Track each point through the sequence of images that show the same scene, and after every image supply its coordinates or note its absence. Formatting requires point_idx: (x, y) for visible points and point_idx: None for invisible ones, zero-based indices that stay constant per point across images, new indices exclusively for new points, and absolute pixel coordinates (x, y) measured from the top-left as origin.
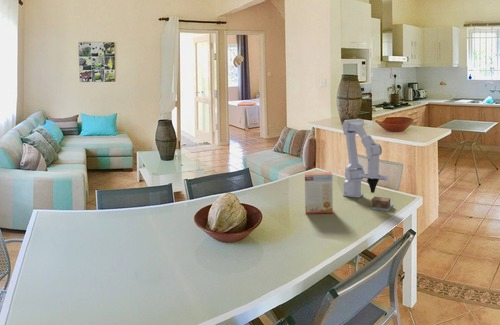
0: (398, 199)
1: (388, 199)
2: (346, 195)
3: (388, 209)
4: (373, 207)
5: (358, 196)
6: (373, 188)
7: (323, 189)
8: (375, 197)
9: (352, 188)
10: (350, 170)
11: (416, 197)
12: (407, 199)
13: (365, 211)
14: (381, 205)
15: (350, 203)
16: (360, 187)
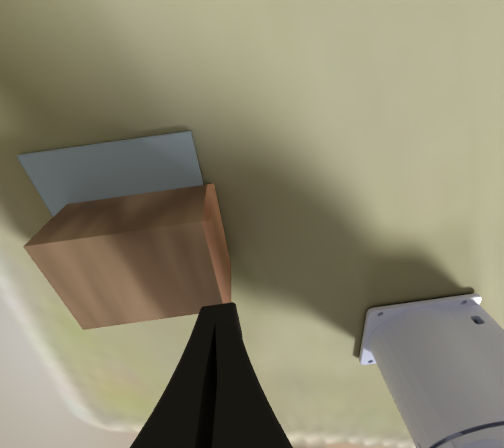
0: (150, 378)
1: (68, 297)
2: (459, 301)
3: (45, 191)
4: (184, 173)
5: (376, 318)
6: (188, 361)
7: None
8: (206, 289)
9: (455, 360)
10: None
11: (99, 424)
12: (112, 394)
13: (197, 13)
14: (111, 208)
15: (408, 182)
16: (396, 393)
